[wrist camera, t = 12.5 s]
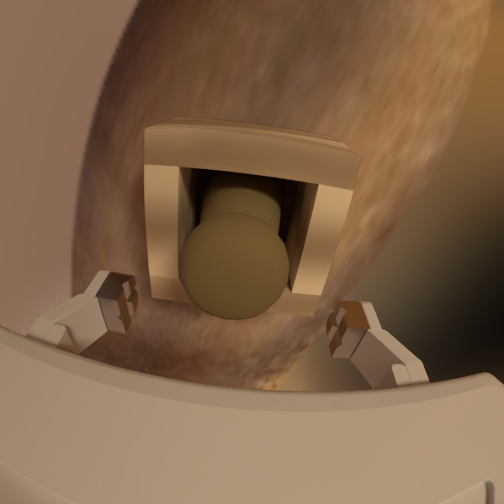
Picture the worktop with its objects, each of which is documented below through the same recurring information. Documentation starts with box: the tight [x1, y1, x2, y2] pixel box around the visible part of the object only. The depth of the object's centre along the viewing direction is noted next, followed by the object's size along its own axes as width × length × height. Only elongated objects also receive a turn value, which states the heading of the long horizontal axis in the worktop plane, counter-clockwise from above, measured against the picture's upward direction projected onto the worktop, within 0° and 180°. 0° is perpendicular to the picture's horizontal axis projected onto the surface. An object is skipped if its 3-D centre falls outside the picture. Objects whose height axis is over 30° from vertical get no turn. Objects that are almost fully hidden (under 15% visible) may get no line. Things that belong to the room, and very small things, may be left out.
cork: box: [179, 170, 290, 320], centre depth 17 cm, size 6×6×11 cm
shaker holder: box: [144, 117, 362, 317], centre depth 19 cm, size 11×11×6 cm
